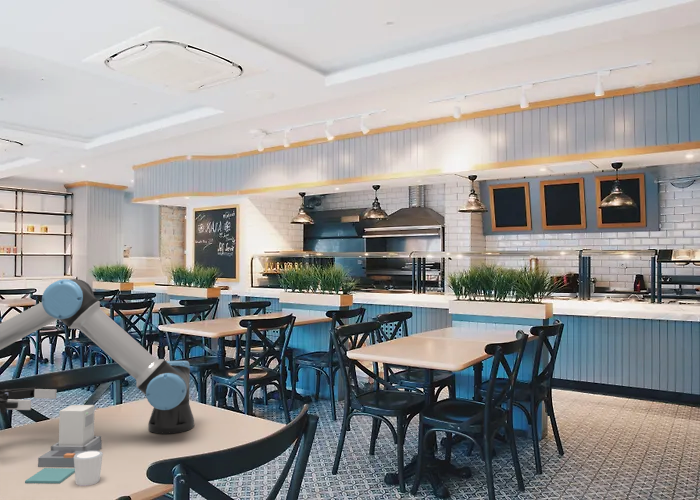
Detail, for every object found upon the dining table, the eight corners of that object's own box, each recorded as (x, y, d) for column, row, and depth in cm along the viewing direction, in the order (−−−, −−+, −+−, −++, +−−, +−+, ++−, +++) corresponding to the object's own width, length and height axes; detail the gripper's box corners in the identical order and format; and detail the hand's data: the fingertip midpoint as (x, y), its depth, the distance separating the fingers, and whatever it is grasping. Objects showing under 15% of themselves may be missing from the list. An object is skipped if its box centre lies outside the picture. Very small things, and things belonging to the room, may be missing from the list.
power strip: (112, 439, 177) (113, 428, 178) (75, 467, 153) (75, 453, 153) (80, 439, 178) (80, 428, 178) (38, 466, 153) (38, 453, 154)
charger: (95, 441, 168) (96, 405, 168) (84, 449, 161) (84, 411, 161) (70, 441, 168) (71, 404, 168) (58, 448, 161) (59, 410, 161)
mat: (77, 470, 151) (77, 468, 151) (59, 483, 142) (59, 481, 142) (44, 470, 151) (44, 468, 151) (25, 483, 142) (25, 480, 142)
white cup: (79, 476, 146) (80, 450, 147) (106, 476, 147) (106, 449, 147) (68, 487, 140) (69, 459, 140) (96, 486, 140) (97, 458, 140)
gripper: (-1, 400, 177) (64, 401, 177) (-59, 422, 152) (17, 423, 152) (-1, 376, 178) (65, 378, 177) (-58, 394, 153) (18, 396, 152)
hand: (43, 399), depth 165 cm, fingers open, 13 cm apart
